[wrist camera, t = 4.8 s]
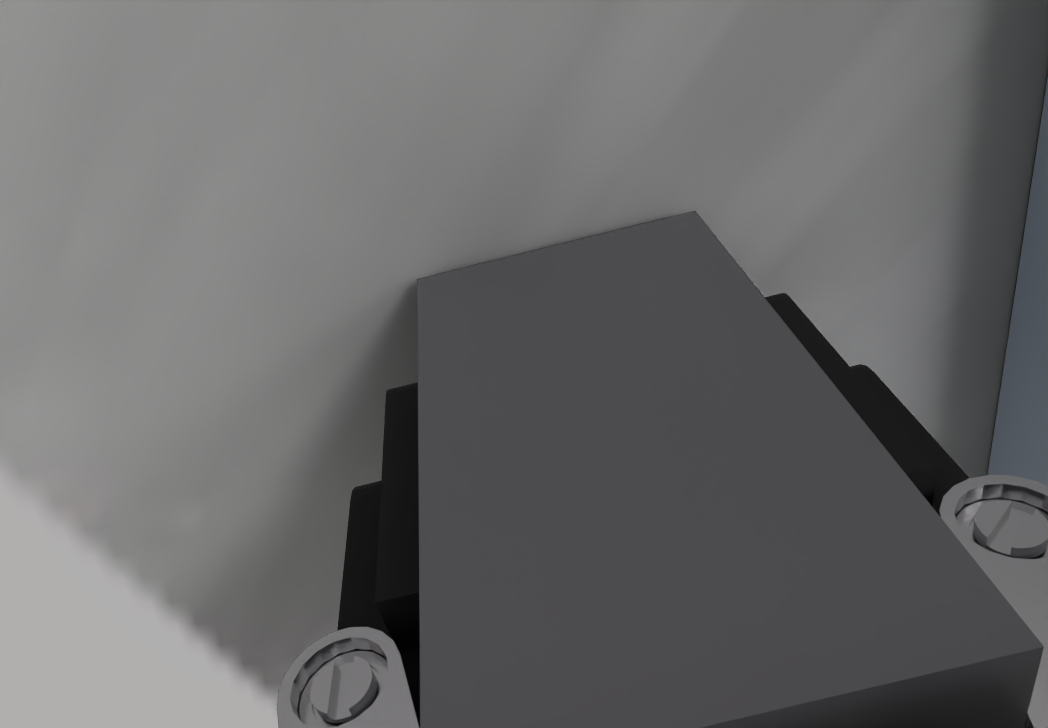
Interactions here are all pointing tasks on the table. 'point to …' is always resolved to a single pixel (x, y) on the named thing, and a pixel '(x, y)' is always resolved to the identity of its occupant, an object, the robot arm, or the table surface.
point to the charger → (676, 514)
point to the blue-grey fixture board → (1027, 343)
